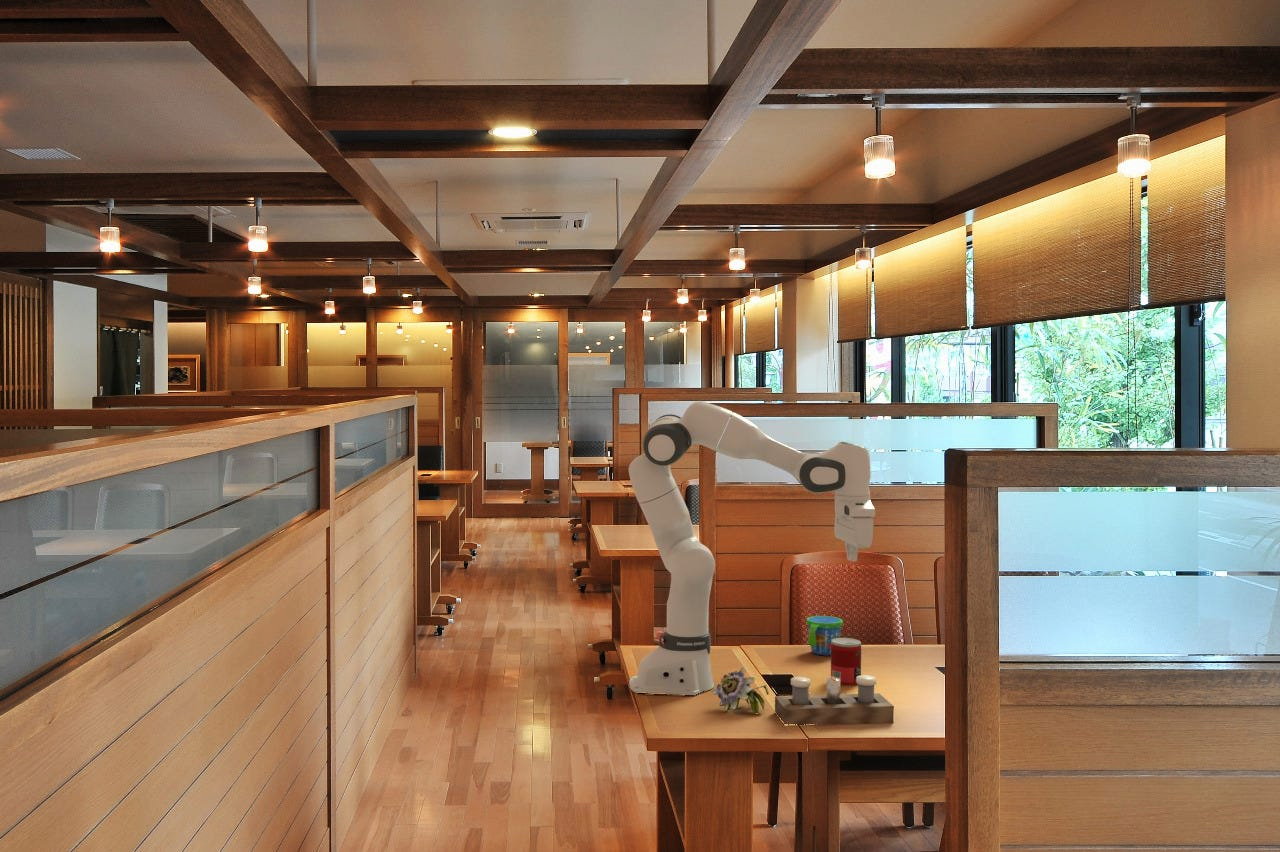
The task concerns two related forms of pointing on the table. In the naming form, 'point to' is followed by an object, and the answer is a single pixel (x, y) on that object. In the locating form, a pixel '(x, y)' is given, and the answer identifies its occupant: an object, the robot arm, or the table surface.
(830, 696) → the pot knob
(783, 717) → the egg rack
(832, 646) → the canned food
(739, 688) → the passion flower
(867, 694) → the knob right
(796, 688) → the knob left
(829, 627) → the snack cup
